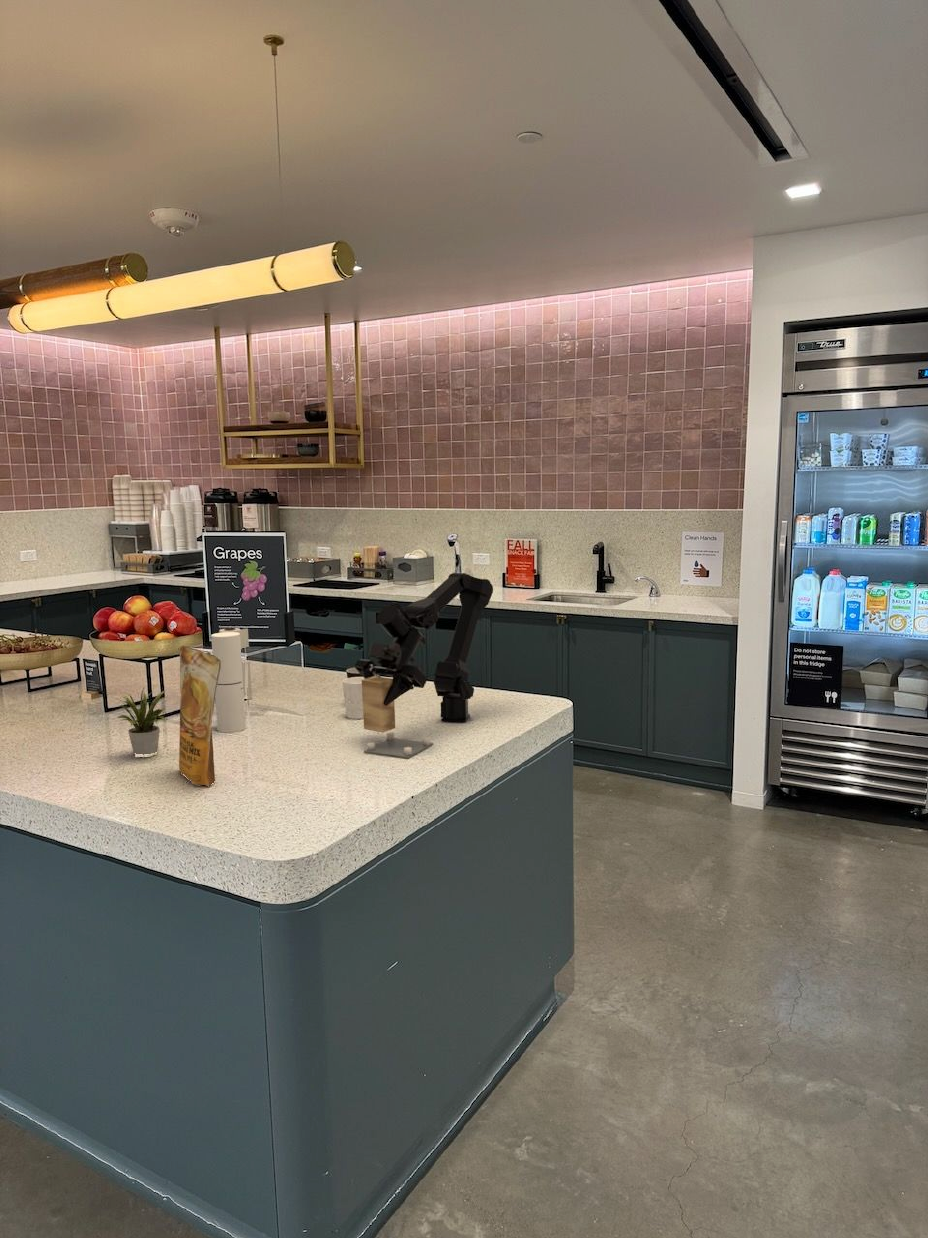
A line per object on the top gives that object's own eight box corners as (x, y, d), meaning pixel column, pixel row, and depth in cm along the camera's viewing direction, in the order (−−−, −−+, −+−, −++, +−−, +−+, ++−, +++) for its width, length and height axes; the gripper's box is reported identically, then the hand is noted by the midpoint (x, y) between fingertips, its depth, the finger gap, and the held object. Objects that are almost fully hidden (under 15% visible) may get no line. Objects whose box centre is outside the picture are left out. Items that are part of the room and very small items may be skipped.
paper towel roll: (219, 702, 264) (214, 630, 261) (230, 697, 270) (226, 627, 267) (241, 703, 262) (236, 631, 259) (252, 698, 268) (247, 627, 264)
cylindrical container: (211, 731, 234) (205, 635, 230) (230, 724, 240) (224, 631, 236) (232, 734, 230) (226, 637, 227) (251, 727, 237) (245, 633, 233)
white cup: (375, 712, 249) (374, 676, 247) (370, 719, 241) (368, 683, 240) (347, 712, 250) (346, 676, 248) (341, 719, 242) (339, 683, 240)
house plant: (104, 767, 205) (98, 697, 202) (111, 750, 218) (105, 684, 216) (170, 761, 209) (165, 692, 206) (173, 745, 222) (168, 680, 219)
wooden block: (376, 724, 219) (374, 676, 217) (395, 728, 215) (393, 678, 213) (364, 729, 215) (361, 680, 213) (382, 732, 212) (380, 682, 210)
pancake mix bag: (201, 763, 207) (193, 642, 202) (231, 785, 191) (222, 655, 187) (171, 769, 203) (162, 646, 199) (199, 791, 187) (190, 659, 183)
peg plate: (390, 739, 222) (390, 731, 222) (433, 745, 217) (433, 736, 217) (363, 752, 212) (363, 744, 211) (408, 759, 206) (407, 750, 206)
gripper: (357, 626, 220) (327, 679, 213) (417, 632, 209) (387, 689, 202) (380, 652, 227) (352, 704, 220) (438, 659, 217) (411, 715, 210)
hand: (374, 702), depth 213 cm, fingers closed on wooden block, 6 cm apart
